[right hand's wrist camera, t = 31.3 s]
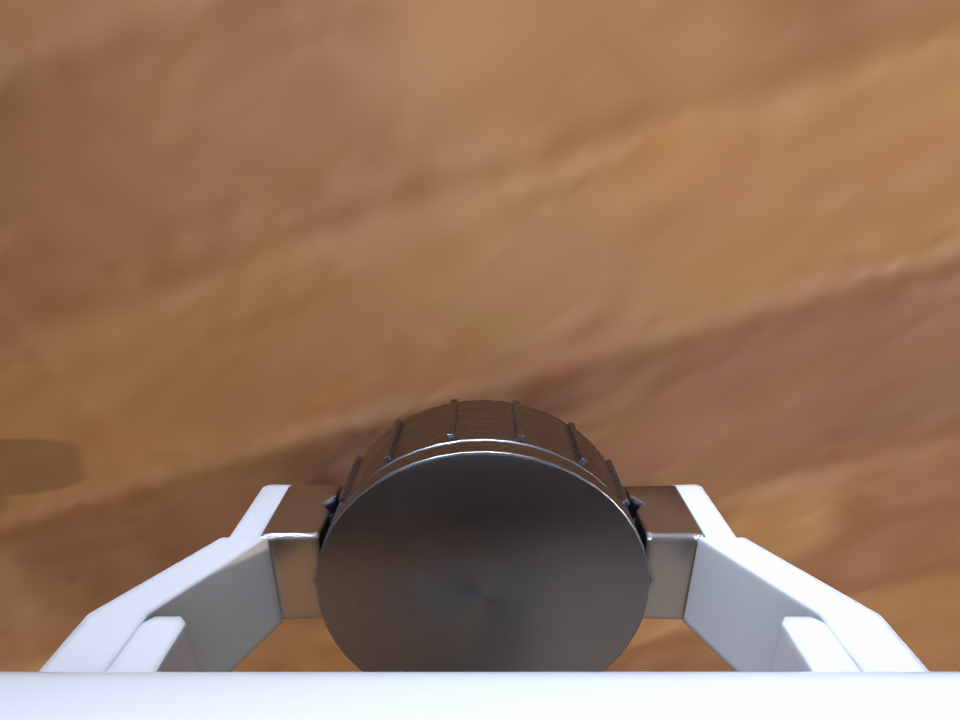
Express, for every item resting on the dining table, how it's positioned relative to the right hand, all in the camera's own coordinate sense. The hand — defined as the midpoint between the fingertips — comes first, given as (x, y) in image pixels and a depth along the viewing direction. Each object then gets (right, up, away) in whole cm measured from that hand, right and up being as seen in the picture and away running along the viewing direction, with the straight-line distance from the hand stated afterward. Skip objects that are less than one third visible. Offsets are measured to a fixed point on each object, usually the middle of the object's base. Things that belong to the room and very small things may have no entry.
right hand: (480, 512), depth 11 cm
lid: (0, -1, -2) cm, 2 cm away
